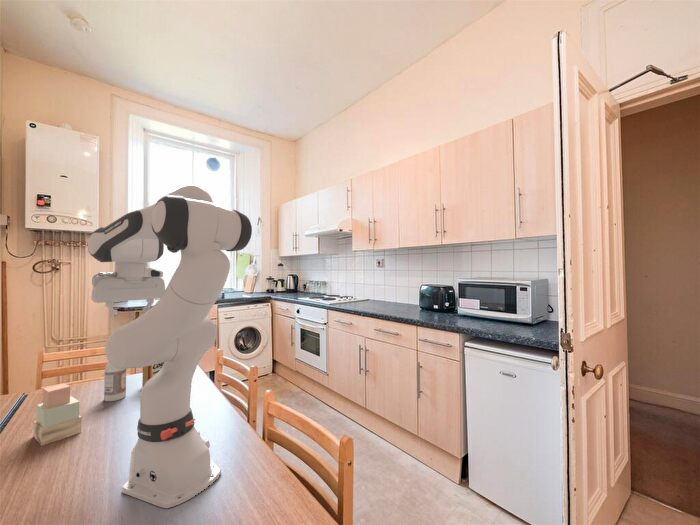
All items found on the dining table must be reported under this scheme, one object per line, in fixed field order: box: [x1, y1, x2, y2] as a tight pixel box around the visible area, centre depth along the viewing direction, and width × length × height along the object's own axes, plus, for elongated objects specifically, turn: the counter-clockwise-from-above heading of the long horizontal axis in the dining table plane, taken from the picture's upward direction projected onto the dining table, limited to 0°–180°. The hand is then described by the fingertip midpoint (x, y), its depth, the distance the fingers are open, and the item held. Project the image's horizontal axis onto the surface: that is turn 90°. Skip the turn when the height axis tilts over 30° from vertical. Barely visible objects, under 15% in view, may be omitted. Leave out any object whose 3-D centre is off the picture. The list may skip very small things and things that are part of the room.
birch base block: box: [33, 414, 83, 446], centre depth 95 cm, size 9×9×5 cm
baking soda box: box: [141, 362, 164, 388], centre depth 136 cm, size 10×6×16 cm
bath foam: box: [103, 361, 127, 402], centre depth 122 cm, size 7×7×20 cm
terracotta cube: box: [42, 383, 71, 408], centre depth 95 cm, size 5×5×5 cm
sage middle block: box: [36, 395, 80, 428], centre depth 95 cm, size 8×8×5 cm
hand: (130, 314), depth 100 cm, fingers open, 8 cm apart
